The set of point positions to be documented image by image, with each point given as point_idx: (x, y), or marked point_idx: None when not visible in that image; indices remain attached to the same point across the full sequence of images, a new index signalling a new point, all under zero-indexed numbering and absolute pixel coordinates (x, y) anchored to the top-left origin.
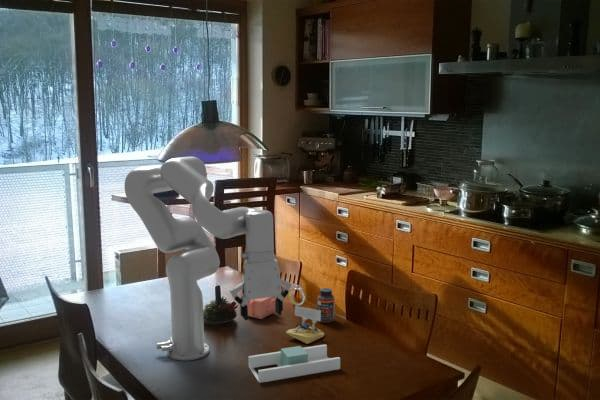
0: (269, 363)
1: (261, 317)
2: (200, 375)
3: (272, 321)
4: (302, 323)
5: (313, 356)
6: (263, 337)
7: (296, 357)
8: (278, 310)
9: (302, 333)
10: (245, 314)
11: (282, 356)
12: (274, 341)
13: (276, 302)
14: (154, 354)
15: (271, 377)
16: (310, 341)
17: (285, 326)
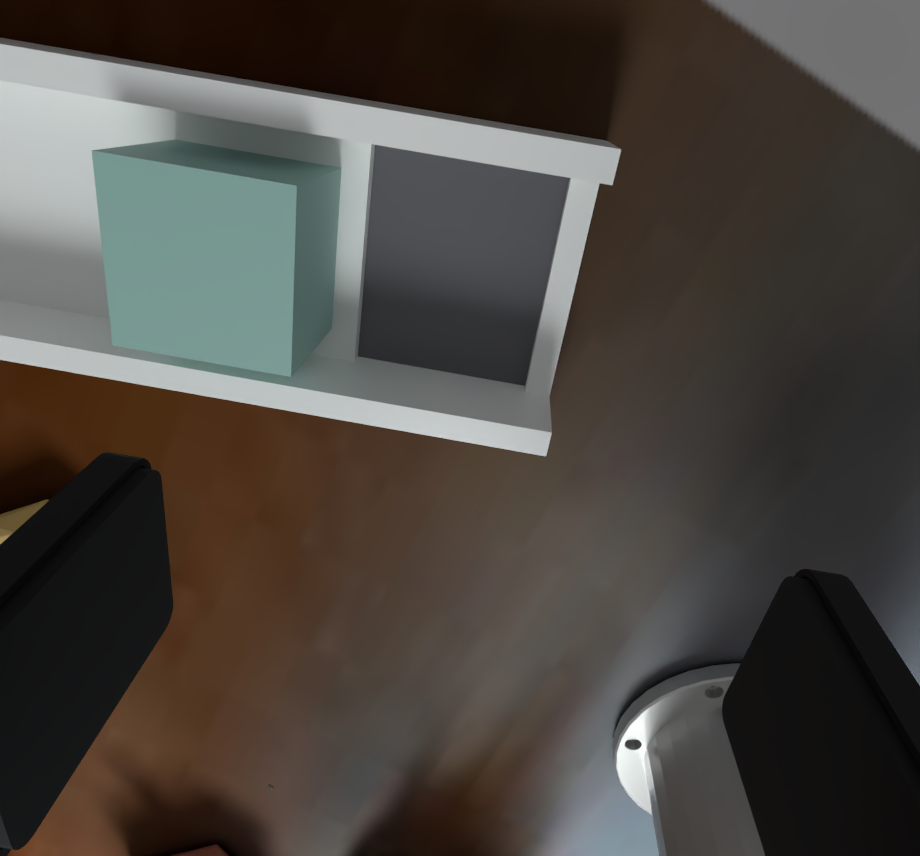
0: (401, 374)
1: (211, 853)
2: (854, 488)
3: (168, 808)
4: None
5: (66, 314)
6: (278, 699)
7: (216, 169)
8: (113, 534)
9: None
10: (899, 662)
11: (308, 317)
12: (237, 636)
13: (39, 745)
14: None
15: (506, 126)
16: (26, 507)
17: (119, 742)
